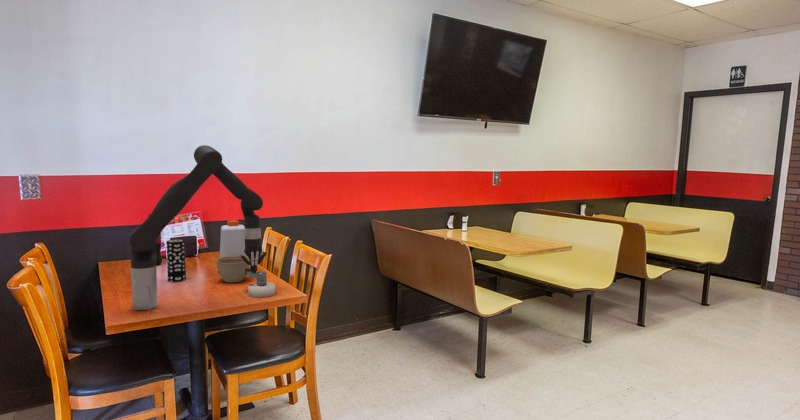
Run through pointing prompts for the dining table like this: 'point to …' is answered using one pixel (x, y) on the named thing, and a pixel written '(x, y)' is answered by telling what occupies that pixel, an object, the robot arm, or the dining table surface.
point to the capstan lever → (257, 276)
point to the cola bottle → (158, 249)
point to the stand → (261, 290)
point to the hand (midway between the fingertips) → (253, 272)
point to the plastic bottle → (232, 239)
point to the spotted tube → (176, 260)
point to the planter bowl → (232, 268)
